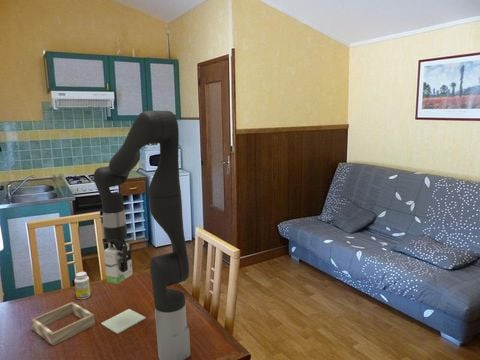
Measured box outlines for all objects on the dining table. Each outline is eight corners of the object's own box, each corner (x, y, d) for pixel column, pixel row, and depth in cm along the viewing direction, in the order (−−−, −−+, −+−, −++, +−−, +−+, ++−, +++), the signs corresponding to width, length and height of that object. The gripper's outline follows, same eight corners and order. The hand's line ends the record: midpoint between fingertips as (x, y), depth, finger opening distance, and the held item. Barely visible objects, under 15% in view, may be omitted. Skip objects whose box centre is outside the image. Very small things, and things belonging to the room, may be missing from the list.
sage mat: (145, 318, 139) (145, 317, 139) (117, 334, 130) (117, 332, 130) (129, 309, 145) (129, 308, 145) (101, 324, 136) (100, 323, 136)
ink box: (117, 284, 130) (114, 252, 127) (106, 282, 131) (102, 250, 129) (133, 274, 137) (130, 243, 135) (122, 272, 139) (119, 241, 137)
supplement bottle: (83, 292, 160) (80, 269, 158) (93, 294, 158) (91, 271, 156) (73, 298, 155) (70, 275, 153) (84, 301, 153) (81, 277, 151)
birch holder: (94, 324, 136) (93, 314, 135) (53, 345, 125) (51, 334, 124) (73, 311, 145) (72, 301, 144) (32, 329, 134) (31, 319, 133)
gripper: (136, 224, 129) (140, 270, 132) (112, 217, 138) (116, 260, 141) (117, 230, 123) (121, 278, 126) (93, 222, 132) (98, 267, 135)
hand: (119, 268), depth 134 cm, fingers closed on ink box, 6 cm apart
